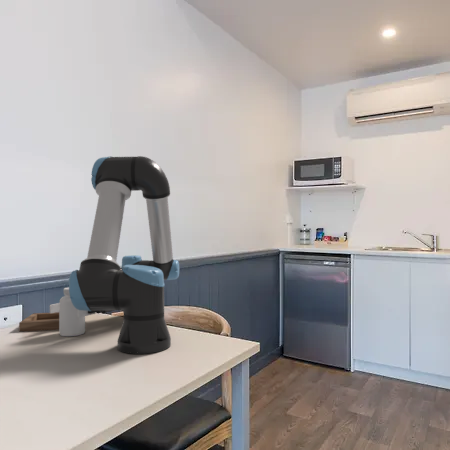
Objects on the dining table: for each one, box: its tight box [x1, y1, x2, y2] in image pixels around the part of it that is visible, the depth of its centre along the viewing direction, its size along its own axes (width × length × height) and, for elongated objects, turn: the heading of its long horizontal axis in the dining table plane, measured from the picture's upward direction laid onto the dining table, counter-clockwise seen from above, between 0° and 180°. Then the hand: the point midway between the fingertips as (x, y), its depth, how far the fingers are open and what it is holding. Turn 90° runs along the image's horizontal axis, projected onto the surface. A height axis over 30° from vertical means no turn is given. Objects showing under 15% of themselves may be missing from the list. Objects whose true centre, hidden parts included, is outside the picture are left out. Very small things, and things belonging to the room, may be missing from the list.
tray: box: [18, 312, 59, 333], centre depth 145 cm, size 15×15×3 cm
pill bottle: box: [58, 286, 86, 337], centre depth 132 cm, size 8×8×15 cm
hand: (63, 311), depth 130 cm, fingers open, 13 cm apart
